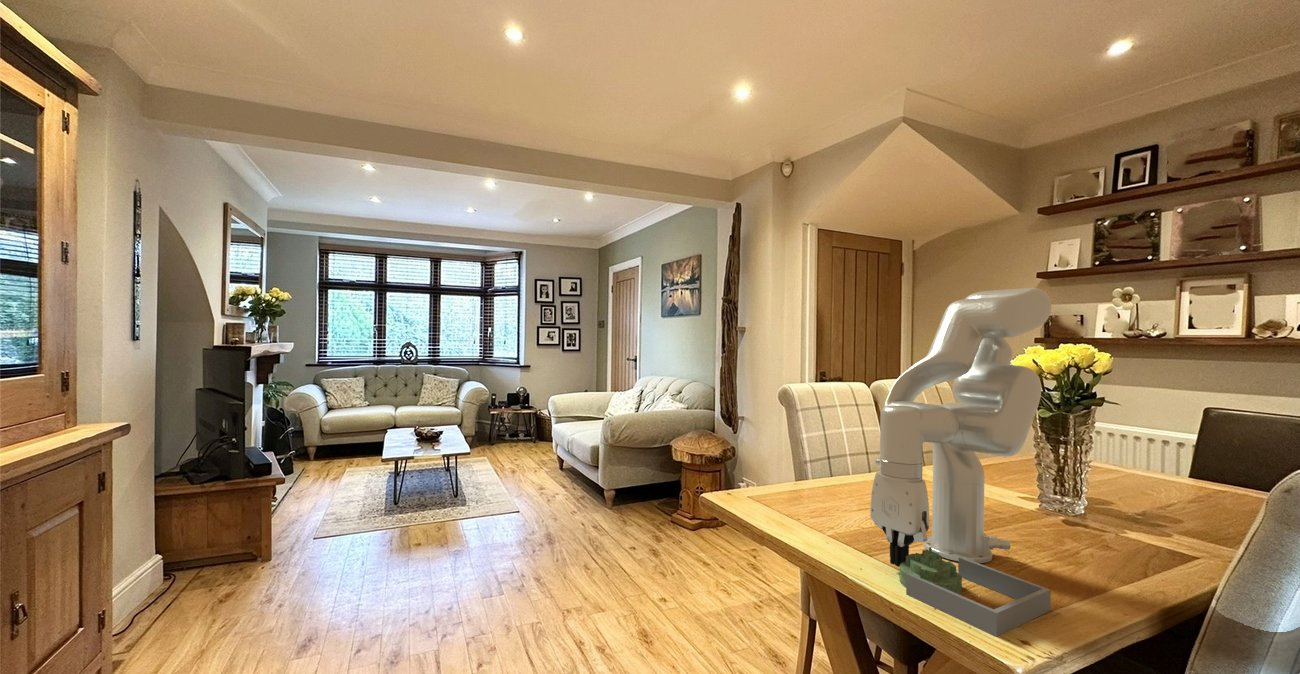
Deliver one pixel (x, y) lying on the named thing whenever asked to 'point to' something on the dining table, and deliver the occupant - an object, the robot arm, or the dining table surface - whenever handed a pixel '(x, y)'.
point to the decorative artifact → (932, 570)
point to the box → (993, 621)
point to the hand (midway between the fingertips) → (899, 563)
